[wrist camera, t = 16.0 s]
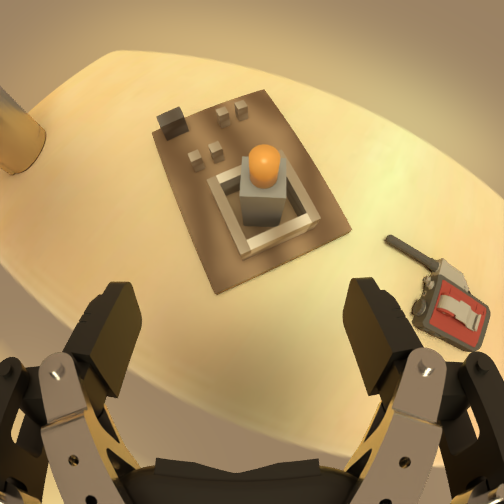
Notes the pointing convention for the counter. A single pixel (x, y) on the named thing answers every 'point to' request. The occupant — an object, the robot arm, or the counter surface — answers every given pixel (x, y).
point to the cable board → (228, 188)
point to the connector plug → (263, 187)
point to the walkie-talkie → (447, 303)
